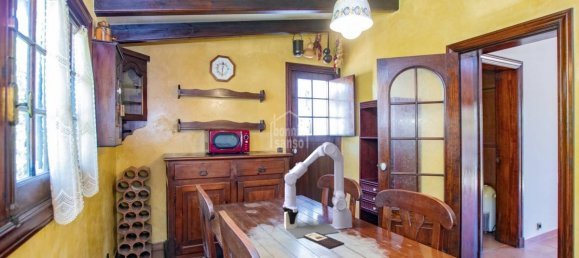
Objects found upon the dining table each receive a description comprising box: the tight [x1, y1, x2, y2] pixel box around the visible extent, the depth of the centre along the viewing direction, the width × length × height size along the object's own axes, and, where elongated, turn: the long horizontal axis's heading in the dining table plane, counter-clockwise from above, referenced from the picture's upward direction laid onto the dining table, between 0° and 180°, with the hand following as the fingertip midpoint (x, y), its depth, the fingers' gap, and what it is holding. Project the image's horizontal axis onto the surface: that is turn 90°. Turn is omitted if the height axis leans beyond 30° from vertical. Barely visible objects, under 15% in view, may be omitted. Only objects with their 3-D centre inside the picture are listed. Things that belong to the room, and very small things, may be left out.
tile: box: [283, 211, 298, 230], centre depth 155 cm, size 6×2×8 cm, turn 110°
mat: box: [286, 223, 339, 240], centre depth 150 cm, size 22×14×1 cm, turn 110°
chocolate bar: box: [303, 232, 345, 250], centre depth 137 cm, size 9×1×18 cm
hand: (290, 222), depth 155 cm, fingers open, 4 cm apart
